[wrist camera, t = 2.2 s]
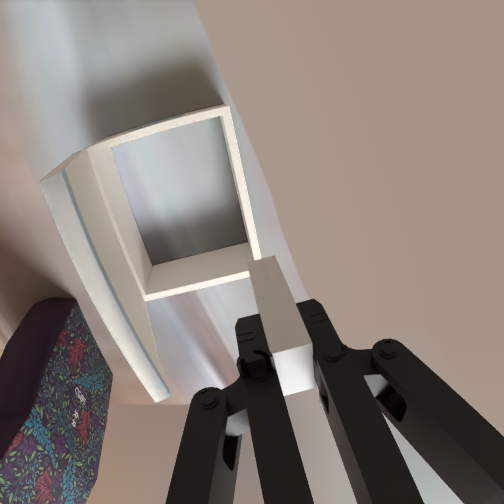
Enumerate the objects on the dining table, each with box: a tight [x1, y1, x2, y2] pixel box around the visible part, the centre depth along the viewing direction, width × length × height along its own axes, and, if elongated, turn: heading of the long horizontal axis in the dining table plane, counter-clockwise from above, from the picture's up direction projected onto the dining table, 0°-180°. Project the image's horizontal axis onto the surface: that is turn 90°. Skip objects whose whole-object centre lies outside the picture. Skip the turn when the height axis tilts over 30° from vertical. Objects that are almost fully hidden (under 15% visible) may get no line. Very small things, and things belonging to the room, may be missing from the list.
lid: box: [40, 149, 171, 402], centre depth 22 cm, size 16×13×1 cm
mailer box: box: [85, 104, 261, 301], centre depth 31 cm, size 16×13×6 cm
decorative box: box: [0, 298, 113, 504], centre depth 28 cm, size 8×16×28 cm, turn 5°
